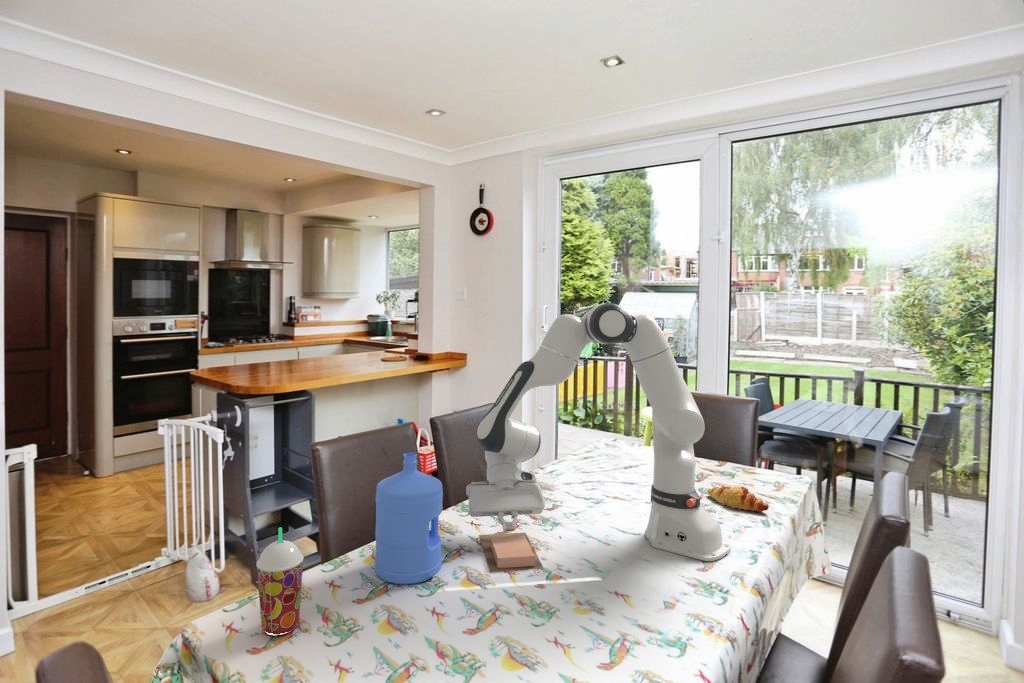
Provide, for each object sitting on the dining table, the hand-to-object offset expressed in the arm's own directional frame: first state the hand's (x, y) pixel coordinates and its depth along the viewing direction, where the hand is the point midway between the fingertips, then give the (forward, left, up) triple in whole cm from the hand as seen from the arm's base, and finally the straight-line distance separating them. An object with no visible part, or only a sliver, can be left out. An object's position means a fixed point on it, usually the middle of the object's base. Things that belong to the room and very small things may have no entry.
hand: (509, 530), depth 143 cm
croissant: (-26, -80, -6) cm, 85 cm away
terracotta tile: (+2, -1, -4) cm, 4 cm away
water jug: (+10, +24, -6) cm, 27 cm away
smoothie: (+7, +56, -6) cm, 57 cm away
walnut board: (-1, 0, -6) cm, 6 cm away
